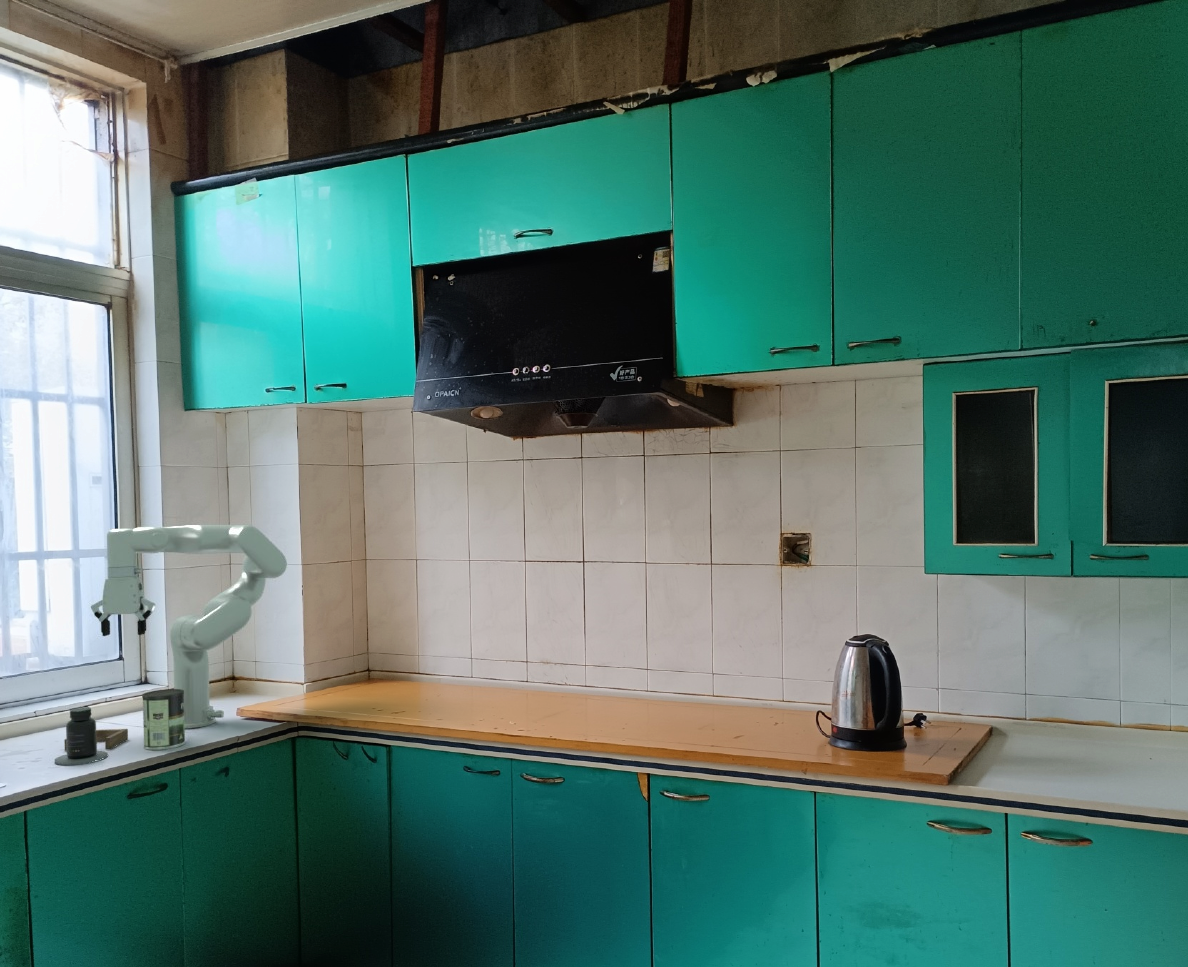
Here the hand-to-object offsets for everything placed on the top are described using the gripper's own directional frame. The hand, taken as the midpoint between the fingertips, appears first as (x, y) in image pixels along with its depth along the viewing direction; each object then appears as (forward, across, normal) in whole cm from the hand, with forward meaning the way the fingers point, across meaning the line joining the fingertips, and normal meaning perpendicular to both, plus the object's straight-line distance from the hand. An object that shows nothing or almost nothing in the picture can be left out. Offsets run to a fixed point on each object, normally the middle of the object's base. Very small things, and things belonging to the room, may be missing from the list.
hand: (123, 634), depth 277 cm
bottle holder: (+28, +4, +9) cm, 30 cm away
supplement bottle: (+28, +1, +23) cm, 36 cm away
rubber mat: (+28, +1, +23) cm, 36 cm away
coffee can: (+28, -15, +11) cm, 34 cm away
